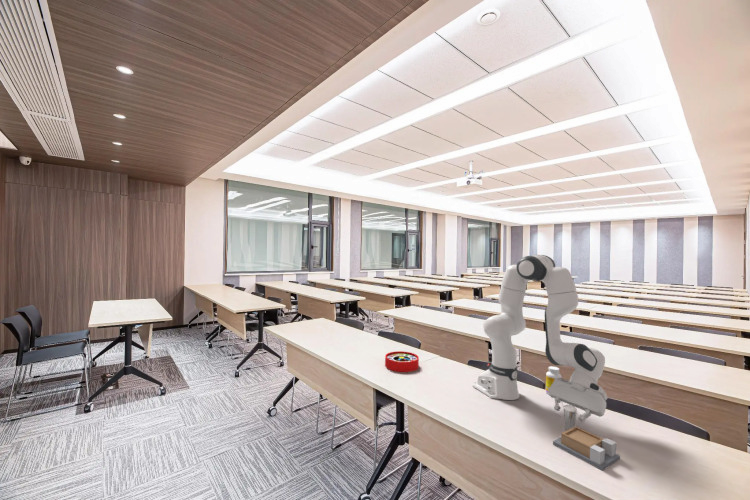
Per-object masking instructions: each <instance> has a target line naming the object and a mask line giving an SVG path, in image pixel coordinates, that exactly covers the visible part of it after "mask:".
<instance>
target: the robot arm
mask: <svg viewBox="0 0 750 500" xmlns="http://www.w3.org/2000/svg"><path fill="white" fill-rule="evenodd" d="M505 269H506V270H505V272H504V274H503V277H502V280H501V285H500V290H499V294H498V298H497V299H498V300H497V301H498V303H499V304H500V308H501V309H500V314H496V315H494V314H493V315H492V316H489V317H488V318H487V319H485V320H484V322H483V325H482V326H483V327H482V328H483V332H484V333H485V335H486V336H487V337H488V339H489V340H490V344H491V352H492V353H491V356H492V357H491V362H488V363H487V367H488V369H486V370H484V371H483V372H481V373H479V374H478V376H477V380H476V381H474V382H473V383H472V387H473V388H474V389H477V390H478V391H479V392H481V393H482V394H484V395H486V396H487V397H489V398H490V399H499V400H504V401H515V400H518V399H519V398H520V397H521V396H520V392H519V389H518V388H519V387H518V380H517V378H518V366H517V349H516V348H515V347H514V345H513V342H512V336H517V335H519V334H521V333H522V332H524V331H525V329H526V326H527V323H526V322H527V321H526V320H525V317H524V315H523V305H524V299H525V297H526V296H525V295H526V291H527V286H528V283H529V281H535V282H542V283H543V284H544V286H545V290H546V293H547V306H546V307H545V308H544V329H545V349H544V350H545V351H544V352H545V356H546V358H547V360H548V361H549V362H550V363H551V364H552V365H553V366H565V367H572V368H573V369H574V371H573V372H572V375H570V378H569V380H568V379H565V378H557V379H555V380H554V382H553V384H552V385H551V387H550V388H549V390H548V392H549V394H550V395H549V394H548V395H549V396H550V398H553V399H554V403H555V404H554V407H553V408H554V410H556V411H558V412H560V410H561V408H562V407H561V406H560V405H559V404H561V403H563V404H564V403H565V404H566V405H572V406H574V407H575V408H576V409H580V410H581V411H584V413H583V414H581V413H580V414H579V415H578V420H579V421H580V422H584V423H585V421H586V419H587V418H589V417H591V416H592V415H595V416H597V417H603V416H604V415H605V412H606V409H607V400H608V395H607V393H606V391H605V390H604V389H603V387H601V386H600V385H598V380H599V379H600V378H601V376H602V375H603V372H604V368H605V364H606V357H605V355H604V354H603V353H602V352H601V351H599V350H598V349H596V348H592V347H588V346H587V345H586V344H583V343H579V342H578V343H577V342H576V343H575V342H565V341H564V342H563V341H562V339H561V327H560V322H561V319H562V318H563V317H565V316H567V315H569V314H571V313H573V311H575V310H576V309H577V307H578V306H579V296H578V292H577V291H578V290H577V287H576V284H575V282H574V278H573V276H572V274H571V271H570V270H569V269H568V268H565V267H563V266H556V263H555V261H554V260H553V258H552V257H550V256H548V255H545V254H533V255H526V256H523V257H522V258H520V259H519V260H518V262H517V264H511V265H509V266H507V267H506V268H505ZM561 401H562V402H561Z"/></svg>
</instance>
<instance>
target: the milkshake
mask: <svg viewBox="0 0 750 500" xmlns="http://www.w3.org/2000/svg"><path fill="white" fill-rule="evenodd" d="M560 403H561V404H562V407H563V415H564V417H563V419H564V429H566V431H567V430H569V429H571V428H573V427H575V426H576V420H577V415H578V414H577V413H578V410H577V409H578V408H577V407H574V406H572V405H569V404H565V405H564V402H562V401H561V402H560Z"/></svg>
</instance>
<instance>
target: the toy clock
mask: <svg viewBox="0 0 750 500" xmlns="http://www.w3.org/2000/svg"><path fill="white" fill-rule="evenodd" d="M384 357H385V358H384V366H385V367H386V369H388V370H390V371H392V372H398V373H410V372H414V371H417V370H418V369H419V367H420V366H419V362H420V361H419V360H420V358H419V355H418V354H415V353H414V352H411V351H402V350H398V351H396V350H395V351H390V352H388V353H386V354H385V356H384Z"/></svg>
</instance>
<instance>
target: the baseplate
mask: <svg viewBox="0 0 750 500" xmlns="http://www.w3.org/2000/svg"><path fill="white" fill-rule="evenodd" d="M552 445H553V446H555V447H557V448H558V449H561V450H563V451H565V452H566V453H568V454H570V455H572V456H575V457H576V458H578V459H580V460H582V461H584V462H585V463H587V464H589V465H590V466H592V467H595V468H596V469H598V470H600V471H602V472H603V471H604V470H606V469H608V468H609V467H610V466H613V464H614V463H616V462H617V461H619V460H621V454H618V453H617V442H616V441H614V440H612V439H609V438H607V437H605V438H603V437H600V436H598V435H596V434H593V433H591V432H589V431H587V430H585V429H583V428H580V427H578V426H576V425H575V427H573V428H571V429H569V430H567V429H566V431H563V432H561V434H560V437H559V438H557V439H555V440H553V441H552Z"/></svg>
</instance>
